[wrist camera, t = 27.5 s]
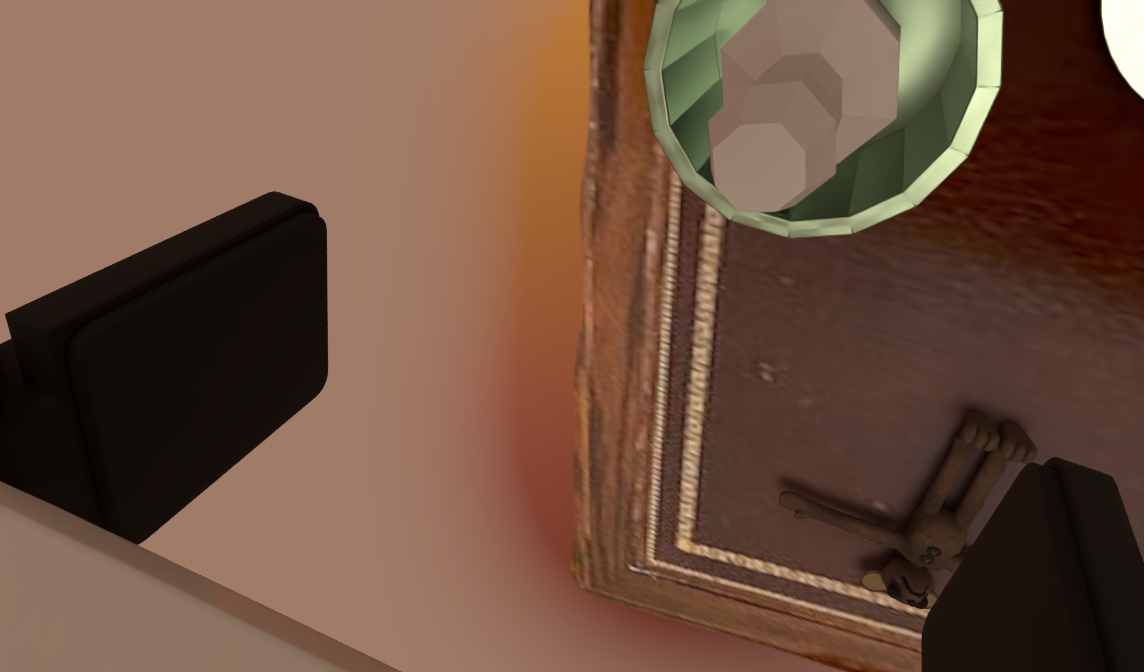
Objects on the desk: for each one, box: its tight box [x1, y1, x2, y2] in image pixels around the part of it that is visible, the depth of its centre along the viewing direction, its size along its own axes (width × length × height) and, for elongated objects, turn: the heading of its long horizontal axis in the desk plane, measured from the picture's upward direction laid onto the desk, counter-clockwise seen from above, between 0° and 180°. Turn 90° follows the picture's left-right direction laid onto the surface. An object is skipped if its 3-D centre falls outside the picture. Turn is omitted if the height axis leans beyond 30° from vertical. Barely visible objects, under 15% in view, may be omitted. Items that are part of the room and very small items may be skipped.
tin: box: [643, 0, 1004, 239], centre depth 33 cm, size 13×13×10 cm
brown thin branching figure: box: [779, 411, 1037, 609], centre depth 46 cm, size 18×4×14 cm
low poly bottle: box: [708, 0, 901, 212], centre depth 28 cm, size 6×6×22 cm
